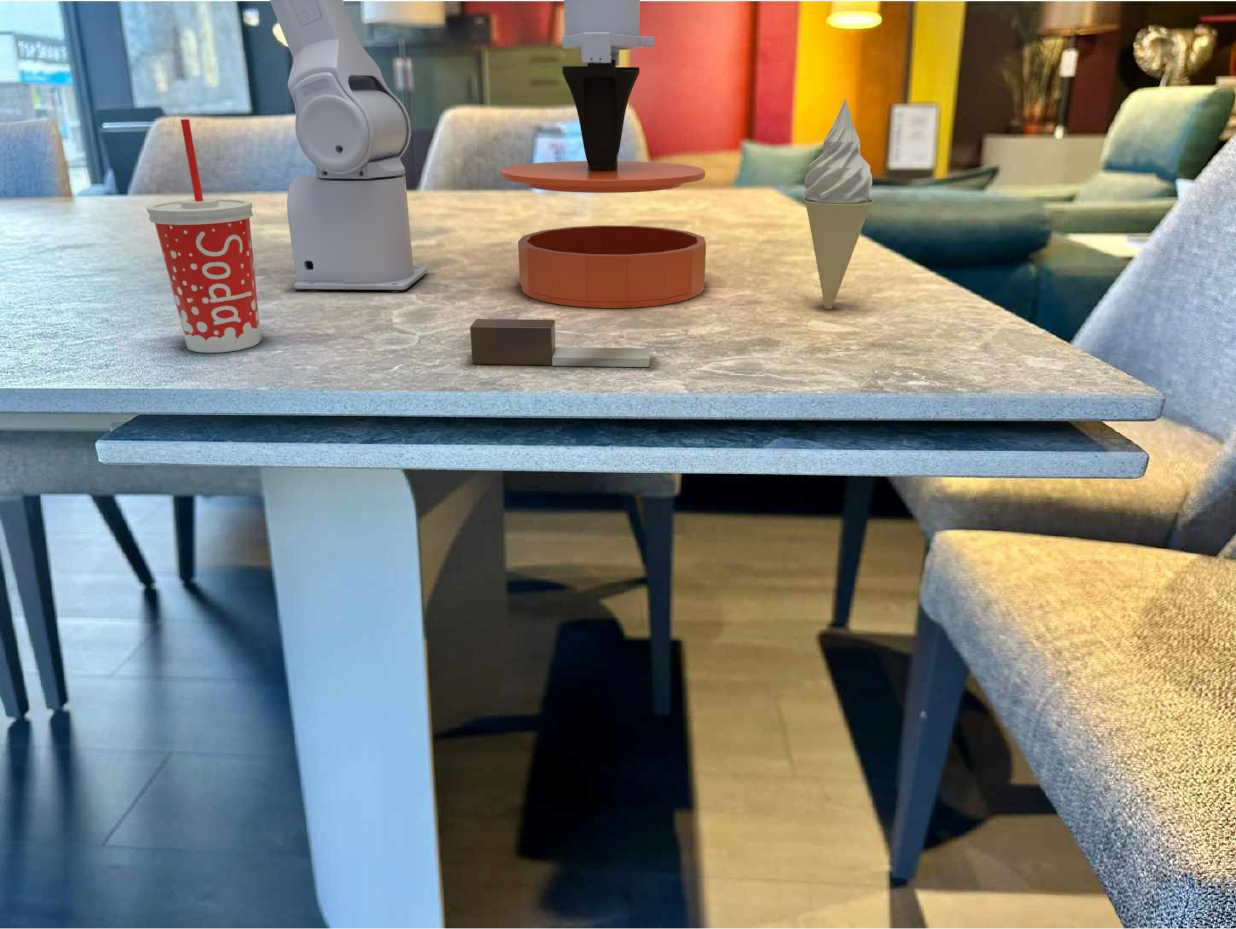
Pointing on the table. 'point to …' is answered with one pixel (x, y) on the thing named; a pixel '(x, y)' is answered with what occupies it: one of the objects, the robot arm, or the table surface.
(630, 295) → the pan
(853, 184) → the ice cream cone
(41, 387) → the table surface
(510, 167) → the pan lid
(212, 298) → the beverage cup
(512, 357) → the knife
